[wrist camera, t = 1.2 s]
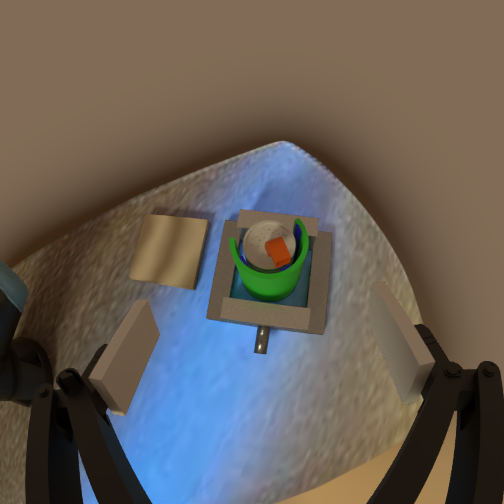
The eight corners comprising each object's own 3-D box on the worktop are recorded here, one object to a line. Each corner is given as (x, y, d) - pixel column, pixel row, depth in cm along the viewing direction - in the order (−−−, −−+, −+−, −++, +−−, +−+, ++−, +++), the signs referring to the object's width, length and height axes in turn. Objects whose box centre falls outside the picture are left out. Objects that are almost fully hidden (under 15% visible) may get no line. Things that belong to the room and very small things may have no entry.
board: (132, 278, 47) (128, 276, 46) (149, 217, 51) (146, 213, 50) (195, 290, 46) (192, 288, 45) (209, 223, 50) (207, 219, 48)
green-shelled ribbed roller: (282, 242, 48) (287, 183, 31) (309, 282, 45) (331, 240, 28) (234, 270, 47) (214, 223, 30) (260, 312, 44) (254, 288, 27)
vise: (203, 343, 43) (194, 342, 37) (226, 223, 50) (221, 207, 44) (318, 359, 41) (325, 361, 35) (330, 236, 48) (337, 221, 42)
